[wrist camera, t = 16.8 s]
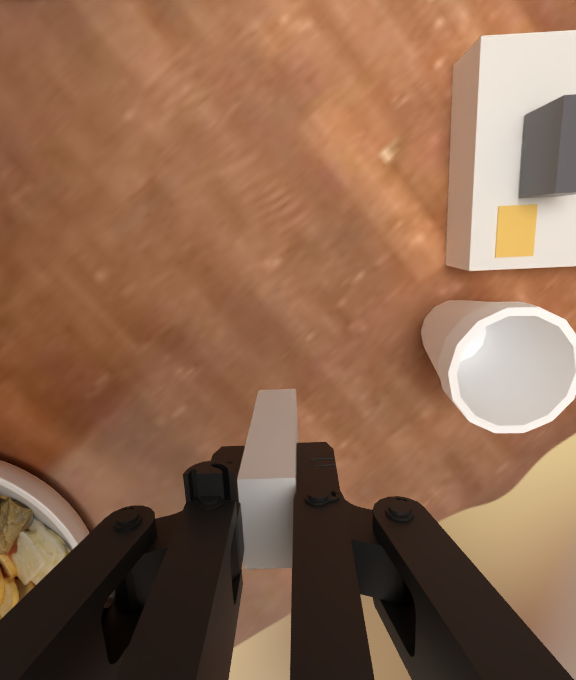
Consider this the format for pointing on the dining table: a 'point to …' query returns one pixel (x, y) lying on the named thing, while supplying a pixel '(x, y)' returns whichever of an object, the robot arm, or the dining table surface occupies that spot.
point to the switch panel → (506, 154)
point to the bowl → (31, 532)
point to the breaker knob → (550, 150)
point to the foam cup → (502, 362)
